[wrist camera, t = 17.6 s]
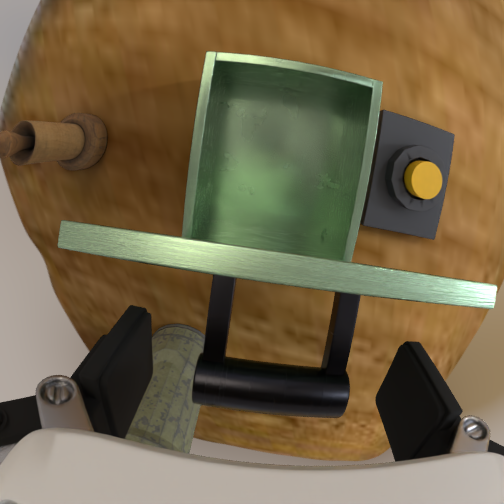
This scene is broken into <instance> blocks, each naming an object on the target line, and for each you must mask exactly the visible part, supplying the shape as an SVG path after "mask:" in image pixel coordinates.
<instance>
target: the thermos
mask: <svg viewBox="0 0 504 504" xmlns="http://www.w3.org/2000/svg"><path fill="white" fill-rule="evenodd" d="M204 341H205V335H204V334H202V333H201V332H200V331H199V330H197V329H195V328H192V327H190V326H188V325H182V324H170V325H166V326H163V327H161V328H159V329H158V330H157V331H156V332H155V333H154V334H153V336H152V355H153V375H152V378H151V381H150V383H149V385H148V387H147V389H146V392H145V394H144V396H143V398H142V400H141V403H140V405H139V407H138V409H137V412H136V414H135V416H134V419H133V421H132V423H131V425H130V428H129V430H128V432H127V435H126V437H125V439H126V440H131V441H134V442H138V443H142V444H146V445H150V446H155V447H159V448H163V449H168V450H173V451H178V452H183V453H188V454H189V452H190V448H191V443H192V439H193V435H194V431H195V426H196V422H197V418H198V414H199V409H200V406H201V405H200V404H194V403H193V402H192V386H193V379H194V373H195V368H196V363H197V360H198V357H199V355H200V353H203V349H204Z"/></svg>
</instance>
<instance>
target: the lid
mask: <svg viewBox="0 0 504 504" xmlns="http://www.w3.org/2000/svg"><path fill="white" fill-rule="evenodd" d="M58 247H59V248H63V249H68V250H73V251H79V252H84V253H89V254H95V255H100V256H106V257H111V258H117V259H123V260H128V261H134V262H140V263H146V264H151V265H157V266H163V267H169V268H175V269H182V270H188V271H194V272H200V273H207V274H213V281H212V288H211V295H210V302H209V310H208V317H207V325H206V333H205V341H204V349H203V353H200V355H199V357H198V360H197V363H196V368H195V373H194V379H193V386H192V402H193V403H194V404H200V405H205V406H211V407H217V408H224V409H231V410H238V411H245V412H254V413H263V414H273V415H285V416H299V417H319V418H339V417H341V416H342V415H343V413H344V412H345V410H346V407H347V404H348V399H349V392H350V384H349V377H348V374H347V372H346V371H345V370H346V366H347V362H348V357H349V353H350V348H351V343H352V338H353V333H354V328H355V323H356V318H357V312H358V307H359V301H360V295H364V296H373V297H381V298H390V299H398V300H407V301H416V302H426V303H435V304H445V305H455V306H465V307H476V308H487V309H493V308H494V305H495V299H496V292H497V285H494V284H488V283H482V282H475V281H469V280H463V279H456V278H450V277H444V276H437V275H431V274H424V273H418V272H411V271H405V270H398V269H392V268H385V267H379V266H372V265H366V264H359V263H353V262H346V261H340V260H333V259H326V258H320V257H313V256H307V255H300V254H293V253H287V252H280V251H273V250H267V249H260V248H253V247H246V246H240V245H233V244H226V243H219V242H213V241H206V240H199V239H192V238H185V237H178V236H172V235H165V234H158V233H151V232H144V231H137V230H130V229H123V228H116V227H109V226H102V225H95V224H88V223H81V222H74V221H67V220H62V221H61V225H60V232H59V239H58ZM237 278H239V279H246V280H253V281H259V282H266V283H273V284H280V285H288V286H295V287H302V288H310V289H317V290H325V291H332V292H335V296H334V302H333V308H332V314H331V320H330V325H329V330H328V336H327V341H326V346H325V351H324V356H323V361H322V365H321V367H309V366H298V365H288V364H278V363H270V362H261V361H254V360H246V359H239V358H232V357H226V349H227V342H228V335H229V328H230V320H231V314H232V307H233V300H234V293H235V286H236V279H237Z"/></svg>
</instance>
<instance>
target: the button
mask: <svg viewBox="0 0 504 504" xmlns="http://www.w3.org/2000/svg"><path fill="white" fill-rule="evenodd" d="M404 183H405V186H406V188H407V190H408V191H409V192H410V193H411V194H412V195H414V196H417V197H420V198H423V199H431V198H433V197H435V196H436V195H437V194H438V193H439V191H440V189H441V186H442V175H441V172H440V170H439V168H438V167H437V166H436V165H435V164H433V163H432V162H428V161H414V162H412V163H411V164H409V165H408V167H407V168H406V170H405V174H404Z"/></svg>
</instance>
